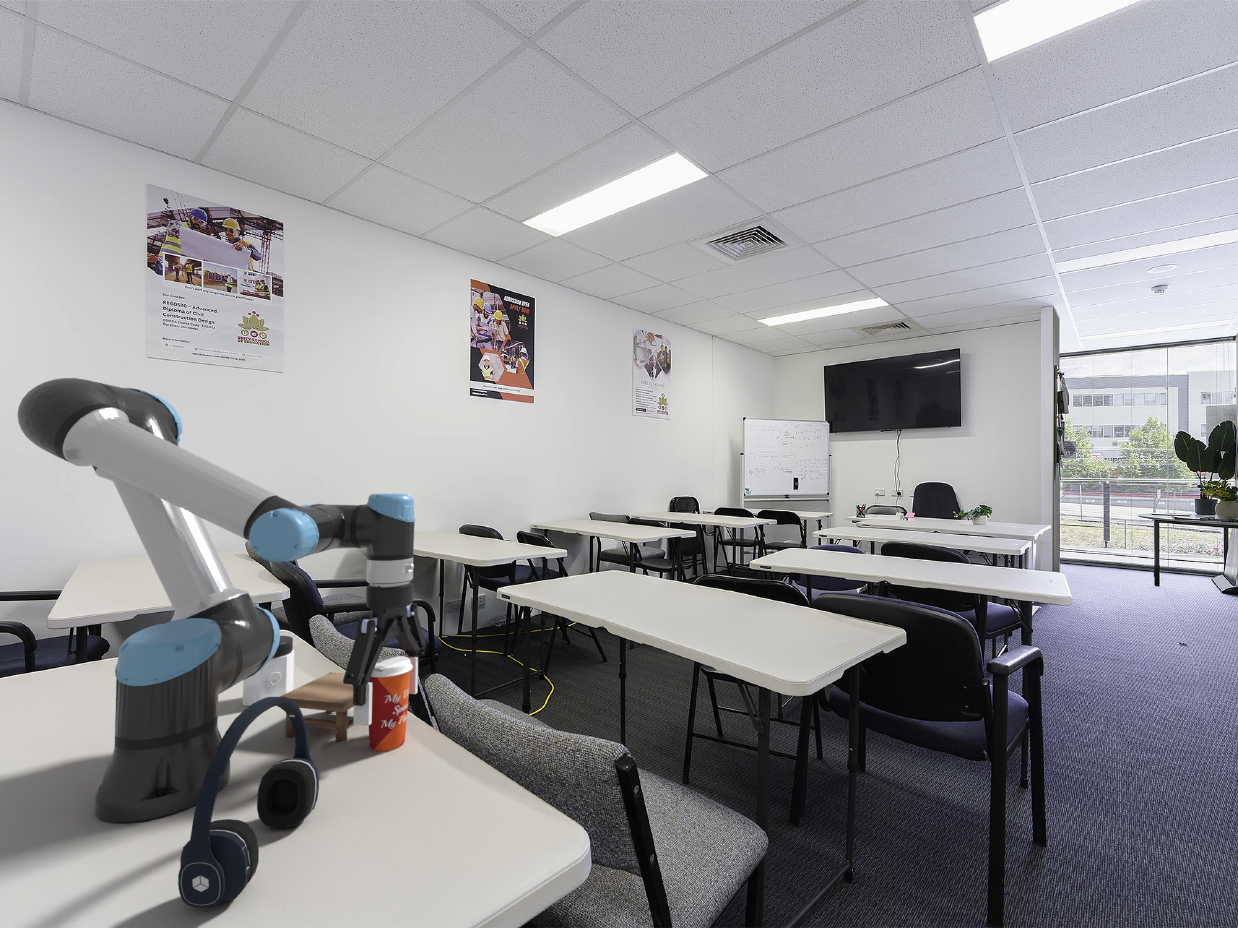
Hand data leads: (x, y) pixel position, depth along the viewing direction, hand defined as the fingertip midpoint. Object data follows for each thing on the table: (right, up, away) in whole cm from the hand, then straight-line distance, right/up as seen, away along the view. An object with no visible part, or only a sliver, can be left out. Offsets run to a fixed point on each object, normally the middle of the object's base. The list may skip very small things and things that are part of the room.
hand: (387, 707), depth 96 cm
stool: (-12, -6, +7) cm, 15 cm away
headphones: (-4, -6, -29) cm, 30 cm away
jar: (-32, -7, +18) cm, 38 cm away
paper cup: (0, -6, 0) cm, 6 cm away
